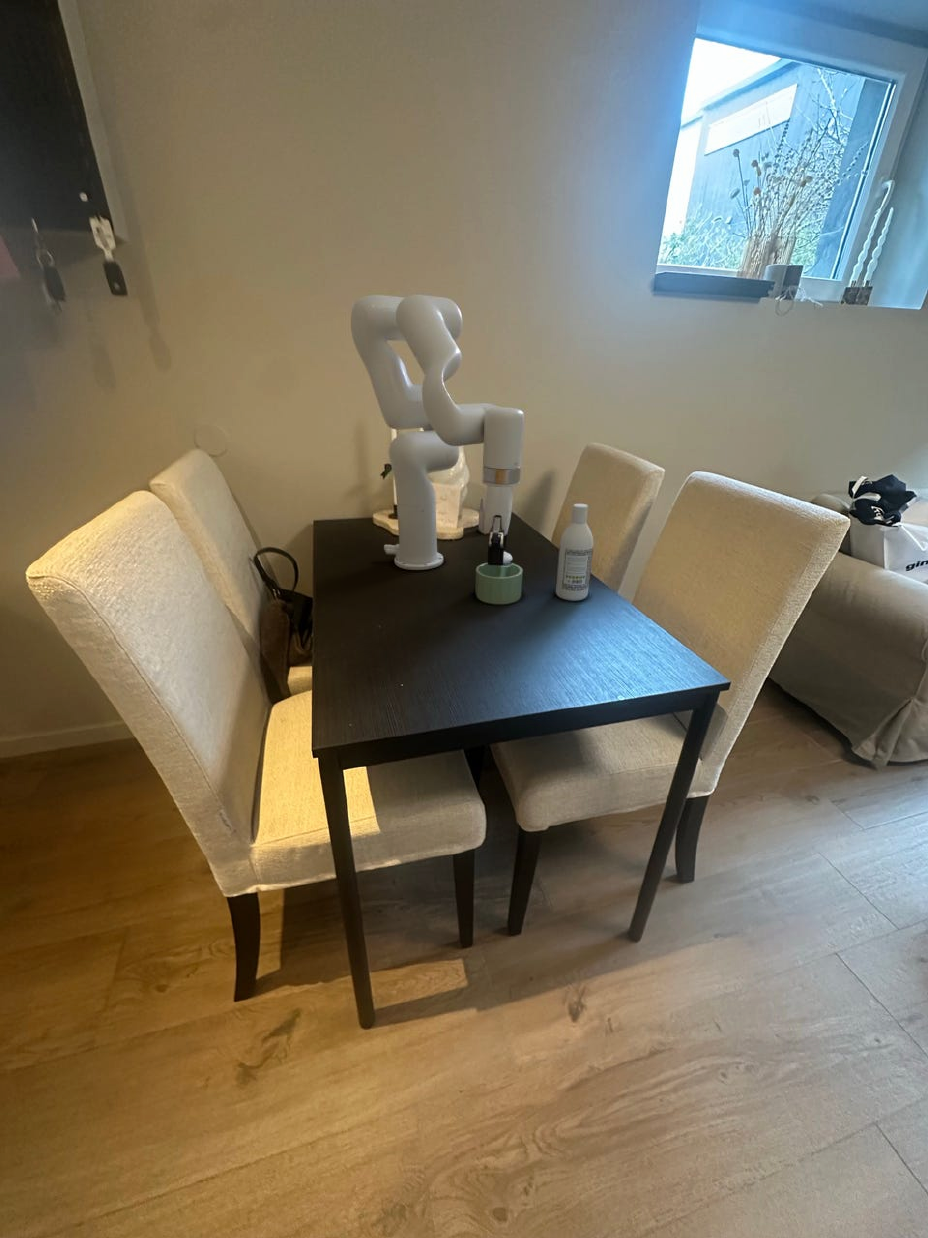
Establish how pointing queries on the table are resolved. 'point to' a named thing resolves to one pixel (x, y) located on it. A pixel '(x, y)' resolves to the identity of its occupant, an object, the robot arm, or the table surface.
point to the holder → (498, 585)
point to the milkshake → (503, 567)
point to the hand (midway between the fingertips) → (497, 556)
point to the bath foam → (575, 557)
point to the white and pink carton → (482, 515)
